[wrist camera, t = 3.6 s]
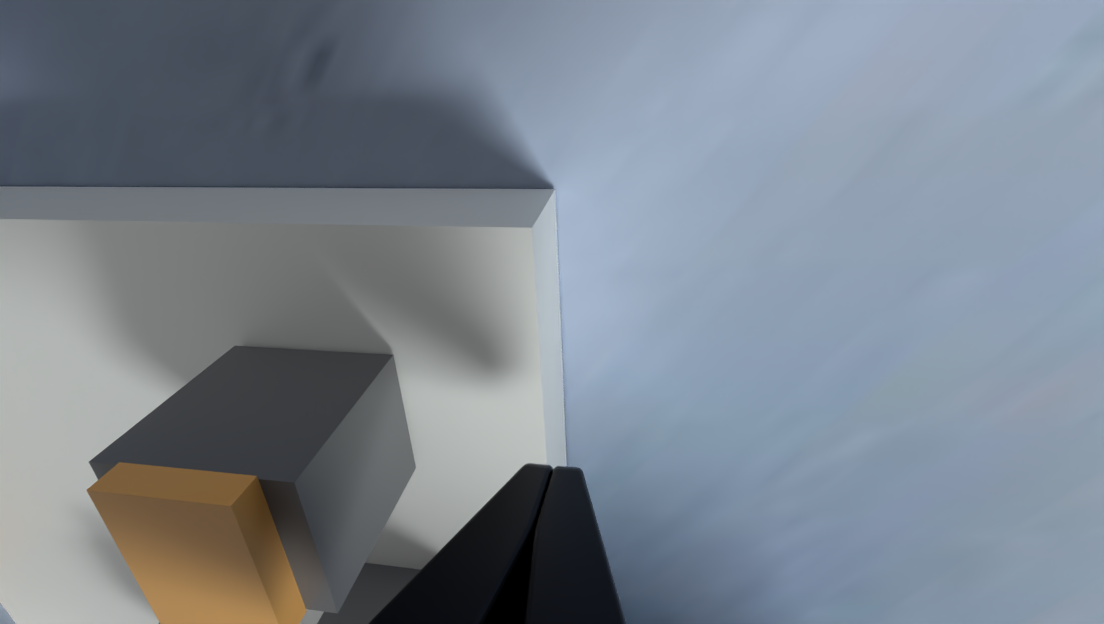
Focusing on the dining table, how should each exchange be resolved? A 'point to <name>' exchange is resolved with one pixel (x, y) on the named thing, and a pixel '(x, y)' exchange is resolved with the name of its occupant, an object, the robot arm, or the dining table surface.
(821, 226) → the dining table surface
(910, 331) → the dining table surface
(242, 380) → the block
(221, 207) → the board
